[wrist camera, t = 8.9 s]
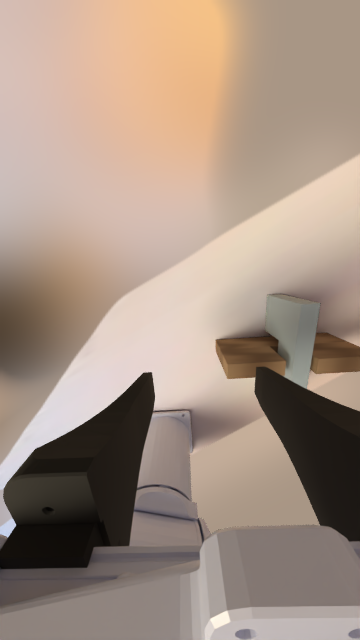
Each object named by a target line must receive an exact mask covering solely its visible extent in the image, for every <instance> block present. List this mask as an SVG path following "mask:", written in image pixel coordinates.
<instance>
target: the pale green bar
mask: <svg viewBox="0 0 360 640" xmlns="http://www.w3.org/2000/svg"><path fill="white" fill-rule="evenodd" d="M320 304H321V303H318V302H313V301H309V300H305V299H300V298H296V297H292V296H287V295H283V294H274V295H267V308H266V322H265V331H267V332H268V333H269V334H271V335H272V336H274V337H275V338H276V339H278V340H279V343H278V354H279V355H280V356H281V357H282V358H283V359H285V360H286V368H285V376H284V377H285V378H287V379H289V380H291V381H293V382H294V383H296V384H298V385H300V386H302V387H304V388H306V389H307V385H308V378H309V372H310V366H311V360H312V354H313V347H314V341H315V335H316V329H317V322H318V316H319V310H320Z"/></svg>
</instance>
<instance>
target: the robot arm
mask: <svg viewBox="0 0 360 640" xmlns="http://www.w3.org/2000/svg"><path fill="white" fill-rule="evenodd" d="M255 395H256V397H257V399H258V402H259V404H260V406H261V408H262V410H263V411H264V413H265V415H266V416H267V418H268V420H269V421H270V423H271V425H272V426H273V428H274V430H275V431H276V433H277V435H278V436H279V438H280V440H281V441H282V443H283V445H284V447H285V449H286V451H287V453H288V455H289V457H290V459H291V461H292V463H293V465H294V467H295V469H296V472H297V474H298V476H299V478H300V480H301V482H302V485H303V487H304V489H305V491H306V493H307V496H308V498H309V500H310V503H311V505H312V507H313V510H314V512H315V514H316V516H317V519H318V521H319V524H320V526H319V525H281V526H241V527H230V528H224V529H220V530H217V531H215V532H214V533H212V534H211V533H210V531H209V529H208V527H207V525H206V523H205V521H204V519H202V518H198V515H197V503H195V502H192V498H191V473H190V453H192V452H193V446H192V433H191V419H190V412H189V411H170V412H153V409H154V401H155V393H154V385H153V377H152V372H148V373H143V374H142V375H141V376H140V377H139V378H138V379H137V380H136V381H135V382H134V383H133V384H132V385H131V386H130V387H129V388H128V389H127V390H126V391H125V392H124V393H123V394H122V395H121V396H120V397H119V398H117V399H116V400H115V401H114V402H113V403H112V404H110V405H109V406H108V407H107V408H105V409H104V410H103V411H101V412H100V413H99V414H97V415H96V416H94V417H93V418H91V419H90V420H88V421H87V422H85V423H84V424H82V425H80V426H79V427H77V428H75V429H74V430H72V431H70V432H68V433H67V434H65V435H63V436H61V437H59V438H57V439H55V440H53V441H51V442H49V443H47V444H45V445H43V446H41V447H39V448H37V449H35V450H34V451H33V452H32V454H31V455H30V456H29V457H28V458H27V460H26V461H25V462H24V463H23V464H22V466H21V467H20V468H19V469H18V470H17V472H16V473H15V474H14V475H13V476H12V478H11V479H10V480H9V481H8V482H7V484H6V486H5V488H4V494H3V495H4V496H3V497H4V501H5V504H6V506H7V508H8V510H9V512H10V513H11V515H12V517H13V519H14V521H15V523H16V527H15V528H14V530H13V531H12V533H11V534H10V536H9V537H8V538H7V537H6V536H4V535H0V640H360V411H357V410H354V409H352V408H349V407H346V406H344V405H341V404H339V403H336V402H334V401H331V400H329V399H327V398H325V397H322V396H320V395H318V394H316V393H313V392H312V391H310V390H308V389H306V388H304V387H302V386H300V385H298V384H296V383H294V382H293V381H291V380H289V379H287V378H285V377H284V376H282V375H280V374H278V373H277V372H275V371H273V370H271V369H269V368H267V367H256V378H255ZM182 414H184V415H182Z"/></svg>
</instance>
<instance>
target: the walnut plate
mask: <svg viewBox="0 0 360 640" xmlns="http://www.w3.org/2000/svg"><path fill="white" fill-rule="evenodd" d="M278 343H279V340H278V339H276V338H275V337H274V336H268V337H253V338H237V339H222V340H216V353H217V355H218V357H219V360H220V362H221V364H222V367H223V369H224V372H225V374H226V376H227V379H235V378H253V377H256V367H267V368H269V369H271V370H273V371H275V372H277V373H278V374H280V375H282V376H285V368H286V360H285V359H283V358H282V357H281V356H280V355H279V354H278ZM310 369H311V370H312V371H313V372H314V373H316V374H322V373H340V372H357V371H360V347H359V346H356V345H354V344H352V343H349V342H347V341H345V340H342V339H340V338H338V337H335V336H333V335H331V334H328V333H316V335H315V341H314V347H313V354H312V360H311V366H310Z"/></svg>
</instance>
